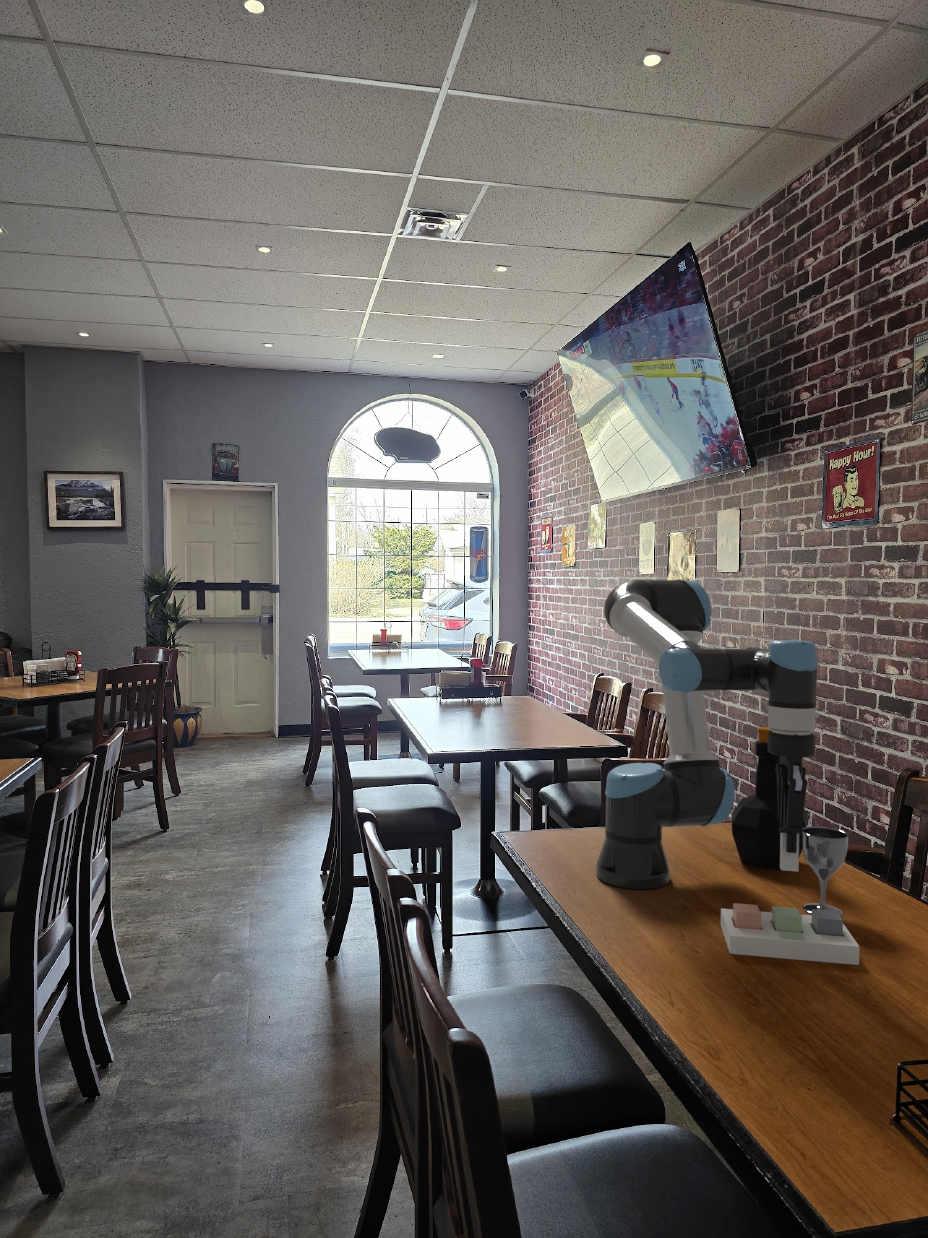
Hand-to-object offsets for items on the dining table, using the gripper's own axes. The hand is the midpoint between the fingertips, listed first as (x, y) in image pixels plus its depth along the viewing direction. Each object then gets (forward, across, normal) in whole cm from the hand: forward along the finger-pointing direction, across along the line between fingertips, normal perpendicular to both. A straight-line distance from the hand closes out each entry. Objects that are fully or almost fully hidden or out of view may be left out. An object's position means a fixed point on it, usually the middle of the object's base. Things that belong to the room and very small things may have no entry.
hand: (789, 869), depth 138 cm
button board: (+13, 0, 0) cm, 13 cm away
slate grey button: (+11, 0, -6) cm, 12 cm away
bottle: (+13, +46, -5) cm, 47 cm away
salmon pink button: (+11, 0, +7) cm, 12 cm away
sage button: (+11, 0, 0) cm, 11 cm away
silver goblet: (+13, +18, -10) cm, 24 cm away
